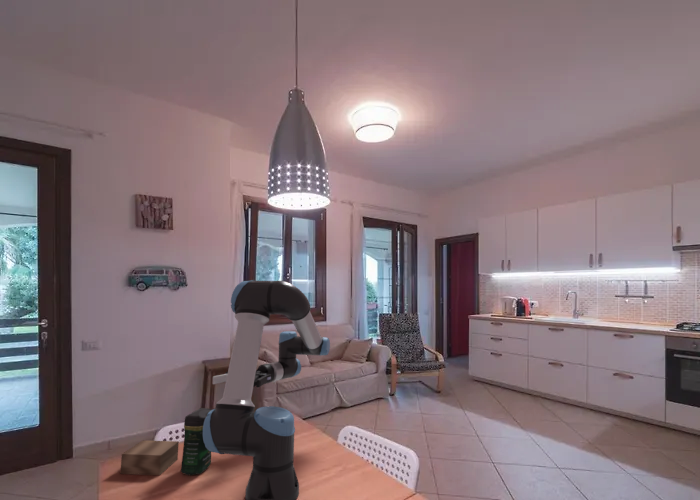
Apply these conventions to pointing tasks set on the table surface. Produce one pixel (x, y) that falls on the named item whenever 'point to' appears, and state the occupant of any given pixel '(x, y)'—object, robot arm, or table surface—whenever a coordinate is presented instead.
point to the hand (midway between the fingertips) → (223, 383)
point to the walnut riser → (149, 457)
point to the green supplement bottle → (195, 444)
